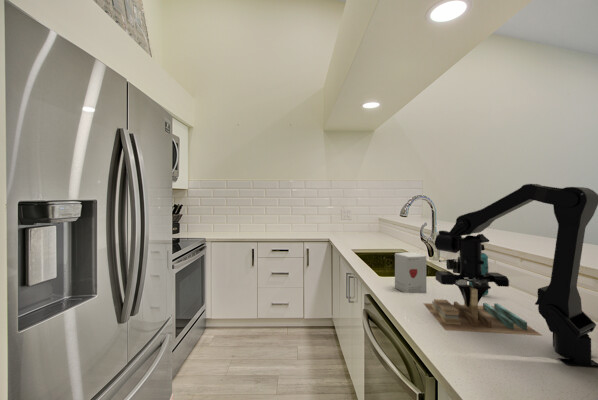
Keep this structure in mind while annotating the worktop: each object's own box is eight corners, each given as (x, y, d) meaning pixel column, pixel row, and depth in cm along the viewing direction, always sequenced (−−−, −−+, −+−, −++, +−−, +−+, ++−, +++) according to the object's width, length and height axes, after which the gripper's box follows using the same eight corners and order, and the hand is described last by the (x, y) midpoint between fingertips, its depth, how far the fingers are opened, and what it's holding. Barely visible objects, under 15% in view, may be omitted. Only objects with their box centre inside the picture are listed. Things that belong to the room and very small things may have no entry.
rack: (542, 339, 72) (542, 327, 72) (445, 333, 75) (445, 322, 75) (498, 309, 92) (498, 300, 92) (423, 306, 95) (423, 297, 95)
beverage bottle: (469, 297, 103) (468, 244, 103) (468, 292, 109) (467, 242, 109) (490, 300, 100) (489, 245, 100) (487, 294, 106) (487, 243, 106)
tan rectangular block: (477, 320, 81) (477, 289, 81) (472, 319, 81) (471, 289, 81) (469, 313, 86) (469, 284, 86) (464, 313, 86) (464, 284, 86)
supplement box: (407, 295, 107) (407, 256, 107) (394, 288, 115) (394, 252, 115) (427, 293, 109) (427, 255, 109) (413, 286, 117) (412, 251, 118)
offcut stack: (460, 324, 79) (460, 312, 79) (445, 323, 79) (445, 311, 79) (444, 308, 90) (444, 297, 90) (431, 307, 91) (431, 297, 91)
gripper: (488, 251, 91) (489, 298, 90) (429, 250, 93) (430, 296, 93) (509, 258, 79) (510, 312, 79) (441, 257, 82) (442, 309, 82)
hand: (470, 306), depth 84 cm, fingers closed on tan rectangular block, 2 cm apart
